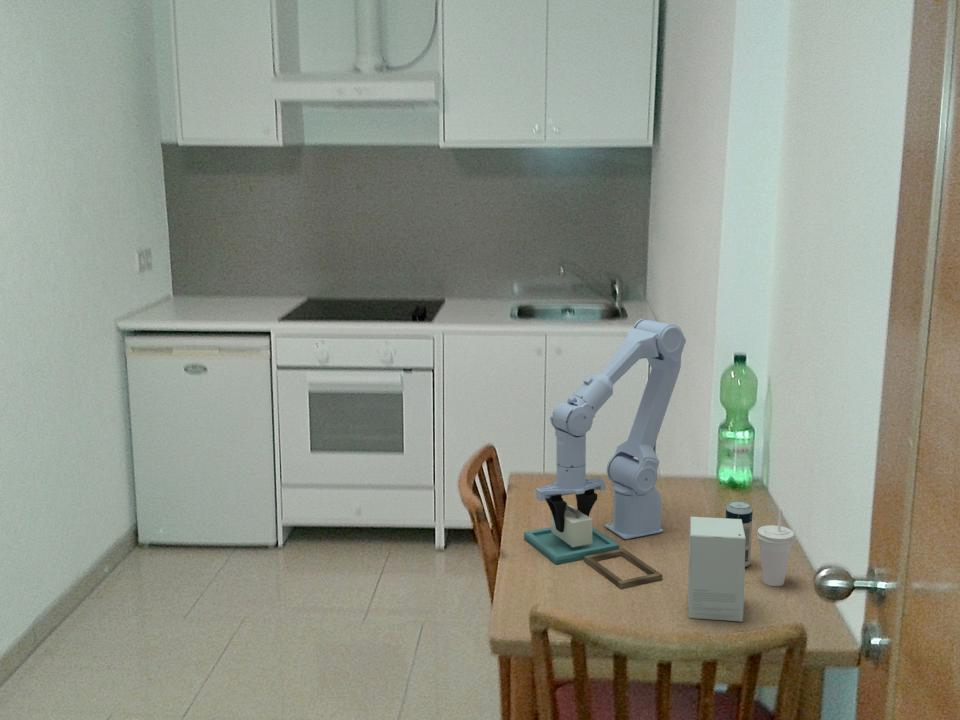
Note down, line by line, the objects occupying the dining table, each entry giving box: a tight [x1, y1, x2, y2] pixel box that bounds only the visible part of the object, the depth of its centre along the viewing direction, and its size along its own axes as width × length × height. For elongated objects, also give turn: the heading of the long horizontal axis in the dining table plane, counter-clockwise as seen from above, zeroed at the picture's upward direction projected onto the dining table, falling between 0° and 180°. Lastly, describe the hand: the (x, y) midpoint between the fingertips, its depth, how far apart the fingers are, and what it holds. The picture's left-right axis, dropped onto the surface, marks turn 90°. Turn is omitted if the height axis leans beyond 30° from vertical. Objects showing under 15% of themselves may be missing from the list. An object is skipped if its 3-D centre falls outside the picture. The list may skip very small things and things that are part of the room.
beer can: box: [725, 500, 753, 568], centre depth 177 cm, size 5×5×12 cm
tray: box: [523, 526, 620, 566], centre depth 188 cm, size 14×14×2 cm
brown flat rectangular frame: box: [583, 548, 663, 589], centre depth 176 cm, size 9×13×1 cm, turn 23°
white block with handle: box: [550, 504, 594, 547], centre depth 187 cm, size 4×9×6 cm, turn 23°
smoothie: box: [756, 507, 795, 587], centre depth 169 cm, size 6×6×14 cm
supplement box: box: [687, 516, 746, 623], centre depth 159 cm, size 9×9×15 cm
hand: (570, 528), depth 187 cm, fingers closed on white block with handle, 4 cm apart
